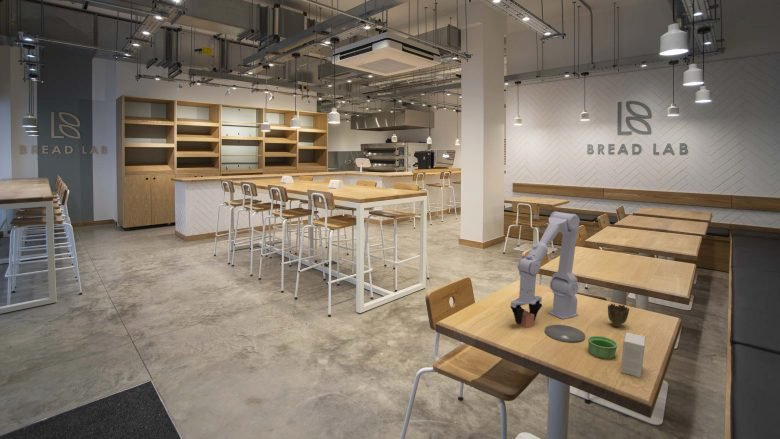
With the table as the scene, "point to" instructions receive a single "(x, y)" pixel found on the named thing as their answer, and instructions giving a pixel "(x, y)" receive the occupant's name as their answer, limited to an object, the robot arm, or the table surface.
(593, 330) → the table surface
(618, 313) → the cup
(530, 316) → the block
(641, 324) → the table surface
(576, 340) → the plate
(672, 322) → the table surface
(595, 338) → the ramekin
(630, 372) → the small box
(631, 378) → the table surface
